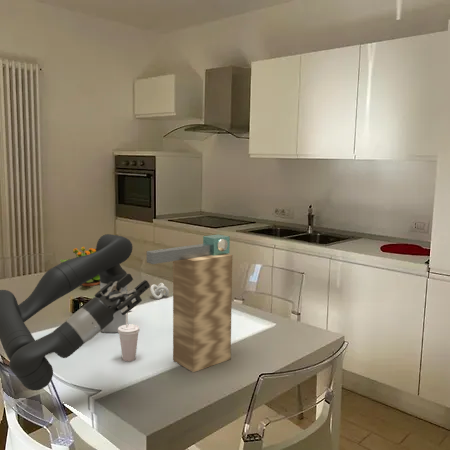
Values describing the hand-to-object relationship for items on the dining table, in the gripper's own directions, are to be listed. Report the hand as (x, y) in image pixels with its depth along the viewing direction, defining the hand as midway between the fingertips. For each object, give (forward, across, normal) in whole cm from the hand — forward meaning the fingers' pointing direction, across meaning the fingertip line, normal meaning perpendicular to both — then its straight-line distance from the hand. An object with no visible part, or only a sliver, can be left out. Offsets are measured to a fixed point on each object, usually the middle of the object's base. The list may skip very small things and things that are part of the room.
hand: (139, 279), depth 125 cm
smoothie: (-10, +14, +27) cm, 32 cm away
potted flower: (+14, +101, +40) cm, 110 cm away
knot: (+26, +62, +48) cm, 83 cm away
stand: (+4, 0, +35) cm, 35 cm away
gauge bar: (+16, 0, +5) cm, 17 cm away
